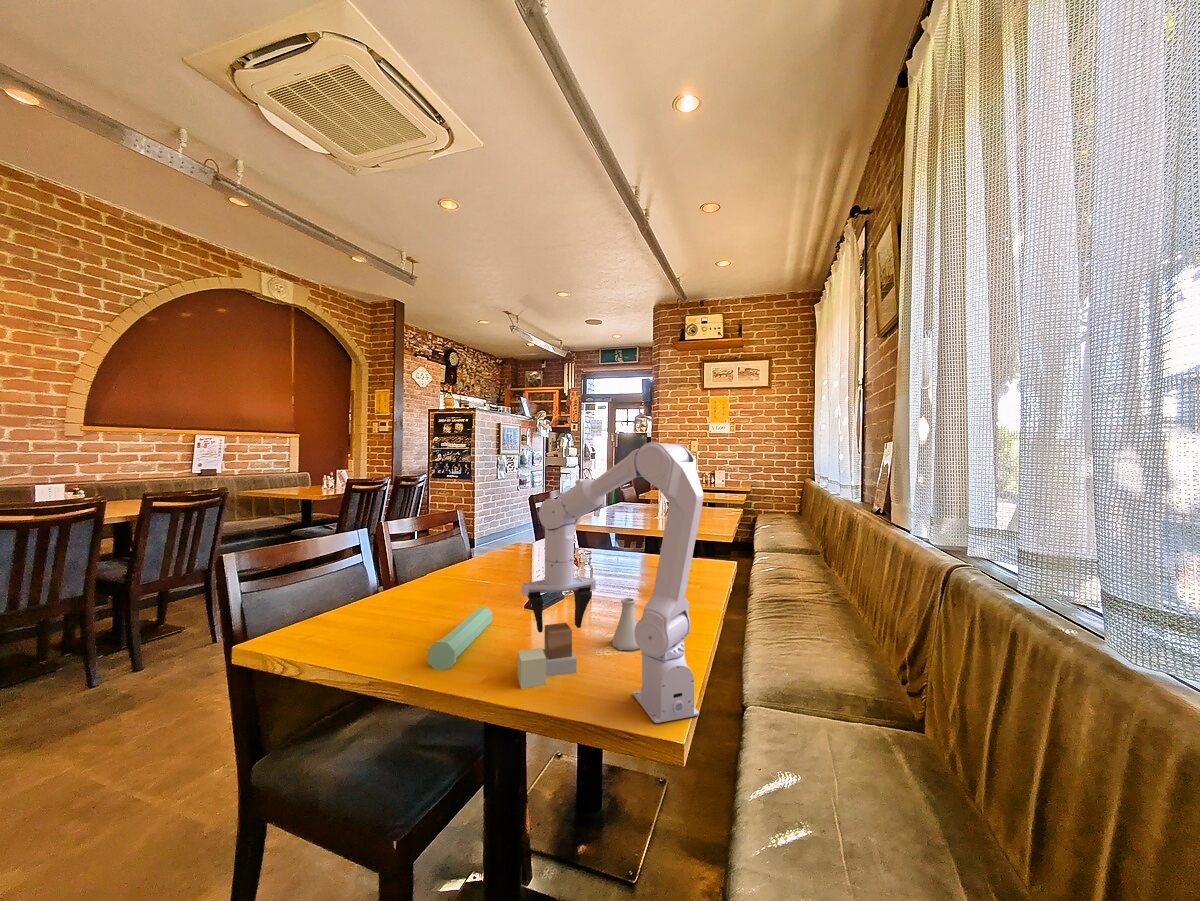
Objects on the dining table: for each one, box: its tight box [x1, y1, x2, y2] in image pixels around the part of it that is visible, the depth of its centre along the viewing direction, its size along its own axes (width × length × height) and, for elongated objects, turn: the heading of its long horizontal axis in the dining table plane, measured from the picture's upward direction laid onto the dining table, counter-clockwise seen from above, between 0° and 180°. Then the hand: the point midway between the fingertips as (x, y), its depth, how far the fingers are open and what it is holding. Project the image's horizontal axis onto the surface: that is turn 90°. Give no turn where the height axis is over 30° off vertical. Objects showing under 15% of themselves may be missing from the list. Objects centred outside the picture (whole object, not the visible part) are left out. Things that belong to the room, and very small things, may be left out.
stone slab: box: [542, 648, 578, 677], centre depth 92 cm, size 6×6×3 cm
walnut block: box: [544, 622, 573, 659], centre depth 92 cm, size 4×4×5 cm
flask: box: [611, 597, 641, 651], centre depth 103 cm, size 7×7×10 cm
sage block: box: [517, 647, 547, 689], centre depth 86 cm, size 4×4×5 cm
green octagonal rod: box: [427, 606, 493, 670], centre depth 103 cm, size 6×6×25 cm
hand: (559, 628), depth 92 cm, fingers open, 7 cm apart
